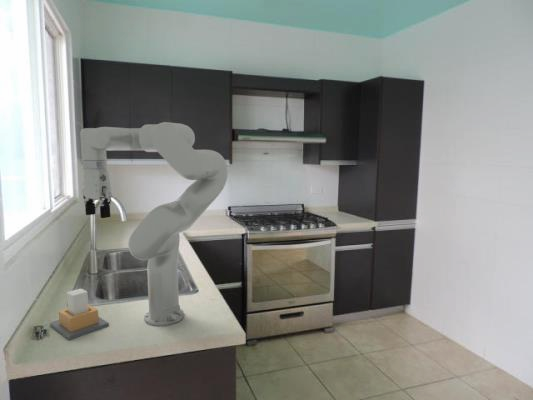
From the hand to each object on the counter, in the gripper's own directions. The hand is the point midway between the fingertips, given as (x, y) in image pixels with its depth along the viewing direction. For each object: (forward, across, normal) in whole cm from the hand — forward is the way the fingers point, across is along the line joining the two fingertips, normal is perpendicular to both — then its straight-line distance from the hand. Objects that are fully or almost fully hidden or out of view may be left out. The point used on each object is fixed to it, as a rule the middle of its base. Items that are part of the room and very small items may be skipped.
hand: (97, 216), depth 130 cm
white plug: (+31, -8, +12) cm, 35 cm away
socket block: (+32, -8, +12) cm, 36 cm away
